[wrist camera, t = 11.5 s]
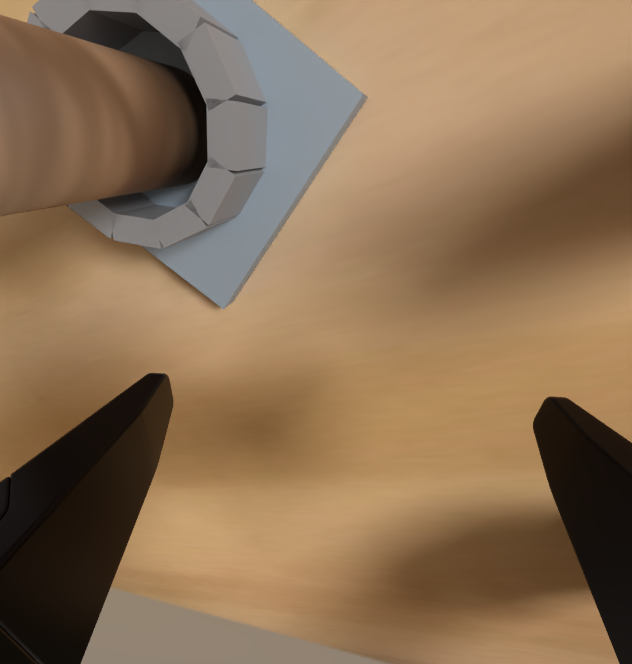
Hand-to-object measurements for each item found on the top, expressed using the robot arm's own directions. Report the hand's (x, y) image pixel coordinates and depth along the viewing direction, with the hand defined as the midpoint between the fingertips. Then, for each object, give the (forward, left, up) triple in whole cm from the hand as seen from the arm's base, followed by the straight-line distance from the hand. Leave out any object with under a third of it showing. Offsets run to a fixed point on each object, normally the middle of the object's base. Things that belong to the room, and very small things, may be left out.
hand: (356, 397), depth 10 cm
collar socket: (+11, +5, -11) cm, 17 cm away
